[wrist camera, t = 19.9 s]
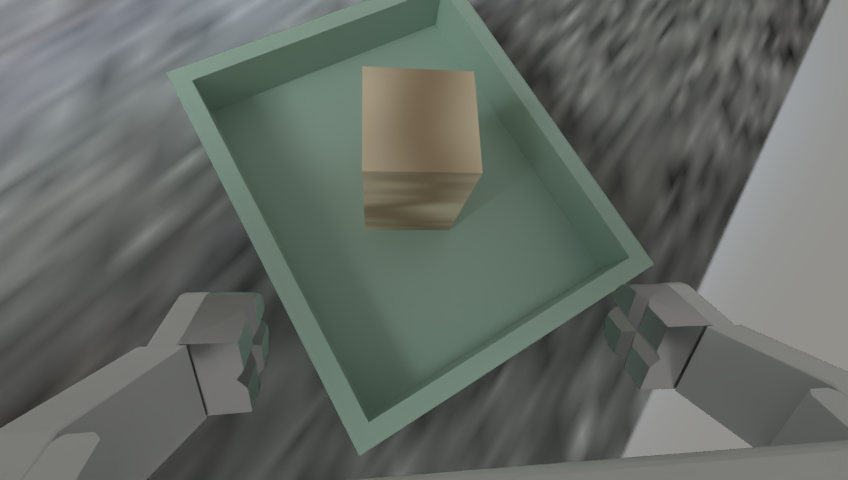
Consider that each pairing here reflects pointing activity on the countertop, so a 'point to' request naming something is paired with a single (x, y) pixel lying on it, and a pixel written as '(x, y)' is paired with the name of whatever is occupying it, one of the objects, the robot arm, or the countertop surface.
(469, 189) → the maple block
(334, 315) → the tray
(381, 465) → the countertop surface
